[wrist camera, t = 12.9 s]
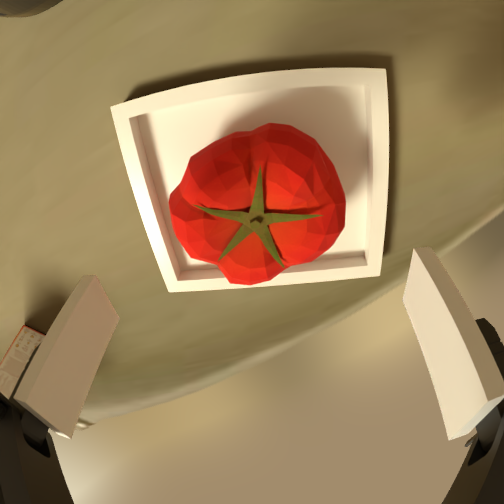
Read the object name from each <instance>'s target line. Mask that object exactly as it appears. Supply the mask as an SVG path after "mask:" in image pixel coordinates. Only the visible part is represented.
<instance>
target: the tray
mask: <svg viewBox="0 0 504 504" xmlns="http://www.w3.org/2000/svg"><path fill="white" fill-rule="evenodd" d="M111 111H112V116H113V120H114V124H115V128H116V132H117V136H118V140H119V143H120V147H121V151H122V154H123V158H124V162H125V165H126V169H127V172H128V175H129V179H130V182H131V186H132V189H133V192H134V195H135V198H136V202H137V205H138V208H139V211H140V214H141V217H142V220H143V223H144V226H145V229H146V232H147V235H148V238H149V240H150V243H151V246H152V249H153V252H154V254H155V257H156V260H157V262H158V265H159V268H160V270H161V273H162V276H163V278H164V281H165V283H166V286H167V289H168V291H169V292H183V291H201V290H218V289H233V288H248V287H262V286H275V285H287V284H299V283H311V282H322V281H332V280H343V279H353V278H362V277H372V276H380V270H381V262H382V254H383V245H384V235H385V225H386V212H387V197H388V174H389V114H388V92H387V78H386V69H380V68H313V69H296V70H283V71H273V72H264V73H255V74H248V75H241V76H234V77H228V78H222V79H216V80H211V81H206V82H201V83H196V84H191V85H187V86H182V87H178V88H174V89H170V90H166V91H162V92H158V93H154V94H151V95H147V96H144V97H140V98H137V99H134V100H130V101H127V102H124V103H121V104H118V105H115V106H112V107H111ZM267 123H279V124H287V125H291V126H293V127H295V128H297V129H298V130H300V131H302V132H304V133H306V134H307V135H309V136H311V137H313V138H314V139H315V140H316V141H317V142H318V144H319V145H320V146H321V148H322V149H323V150H324V152H325V153H326V155H327V156H328V157H329V159H330V160H331V161H332V163H333V164H334V166H335V169H336V171H337V174H338V177H339V179H340V182H341V185H342V187H343V190H344V193H345V198H346V215H345V227H344V229H343V231H342V232H341V234H340V235H339V237H338V238H337V240H336V241H335V243H334V244H333V246H332V247H331V248H330V249H329V250H327V251H326V252H324V253H323V254H322V255H320V256H319V257H317V258H316V259H315V260H313V261H312V262H308V263H303V264H298V265H293V266H290V267H289V268H287V269H285V270H284V271H282V272H281V273H280V274H278V275H277V276H276V277H274V278H273V279H272V280H270V281H266V282H262V283H258V284H254V285H240V284H230V283H229V281H228V280H227V279H226V277H225V276H224V274H223V273H222V272H221V270H220V269H219V267H218V266H217V265H215V264H212V263H208V262H204V261H200V260H196V259H193V258H190V256H189V255H188V253H187V252H186V250H185V249H184V247H183V246H182V245H181V243H180V242H179V240H178V239H177V237H176V235H175V233H174V230H173V228H172V222H171V216H170V209H169V203H168V202H169V197H170V194H171V192H172V191H173V190H174V189H175V188H176V187H177V186H178V185H179V183H180V182H181V180H182V178H183V176H184V173H185V171H186V168H187V165H188V162H189V159H190V157H191V156H193V155H194V154H196V153H197V152H199V151H200V150H202V149H203V148H205V147H206V146H208V145H209V144H211V143H212V142H214V141H216V140H219V139H221V138H223V137H225V136H227V135H229V134H231V133H234V132H237V131H252V130H254V129H256V128H257V127H260V126H262V125H265V124H267Z"/></svg>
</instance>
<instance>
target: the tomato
mask: <svg viewBox="0 0 504 504" xmlns="http://www.w3.org/2000/svg"><path fill="white" fill-rule="evenodd" d="M168 203H169V209H170V216H171V222H172V228H173V230H174V233H175V235H176V237H177V239H178V240H179V242H180V243H181V245H182V246H183V247H184V249H185V250H186V252H187V253H188V255H189V256H190V258H193V259H196V260H200V261H204V262H208V263H212V264H215V265H217V266H218V267H219V269H220V270H221V272H222V273H223V274H224V276H225V277H226V279H227V280H228V281H229V283H230V284H240V285H254V284H258V283H262V282H266V281H270V280H272V279H273V278H274V277H276V276H277V275H278V274H280V273H281V272H282V271H284V270H285V269H287V268H289V267H290V266H293V265H298V264H303V263H308V262H312V261H313V260H315V259H316V258H317V257H319V256H320V255H322V254H323V253H324V252H326V251H327V250H329V249H330V248H331V247H332V246H333V244H334V243H335V241H336V240H337V238H338V237H339V235H340V234H341V232H342V231H343V229H344V227H345V215H346V198H345V193H344V190H343V187H342V185H341V182H340V179H339V177H338V174H337V171H336V169H335V166H334V164H333V163H332V161H331V160H330V159H329V157H328V156H327V155H326V153H325V152H324V150H323V149H322V148H321V146H320V145H319V144H318V142H317V141H316V140H315V139H314V138H313V137H311V136H309V135H307V134H306V133H304V132H302V131H300V130H298V129H297V128H295V127H293V126H291V125H287V124H279V123H267V124H265V125H262V126H260V127H257V128H256V129H254V130H252V131H237V132H234V133H231V134H229V135H227V136H225V137H223V138H221V139H219V140H216V141H214V142H212V143H211V144H209V145H208V146H206V147H205V148H203V149H202V150H200V151H199V152H197V153H196V154H194V155H193V156H191V157H190V159H189V162H188V165H187V168H186V171H185V173H184V176H183V178H182V180H181V182H180V183H179V185H178V186H177V187H176V188H175V189H174V190H173V191H172V192H171V194H170V197H169V202H168Z"/></svg>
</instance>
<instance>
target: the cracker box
mask: <svg viewBox="0 0 504 504" xmlns="http://www.w3.org/2000/svg"><path fill="white" fill-rule="evenodd" d="M45 336H46V335H44V334H42V333H40V332H38V331H36V330H34V329H32V328H30V327H27V326H25V325H23V326H22V328H21V330H20V331H19V333H18V334H17V336H16V337H15V339H14V341H13V342H12V344H11V345H10V347H9V349H8V350H7V352H6V354H5V356H4V357H3V359H2V361H1V362H0V392H1V393H2V394H3V395H4V396H5V397H6V398H7V399H9V398H10V396H11V394H12V392H13V390H14V388H15V386H16V383H17V381H18V379H19V377H20V375H21V373H22V371H23V370H25V366H26V364H27V362H29V358H30V356H31V354H32V353H33V351H34V349H35V348H36V347H37V346H38V345H39V344H40V343H41V342H42V341H43V339H44V337H45Z"/></svg>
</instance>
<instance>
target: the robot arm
mask: <svg viewBox="0 0 504 504" xmlns="http://www.w3.org/2000/svg"><path fill="white" fill-rule="evenodd" d="M60 1H62V0H0V16H1V17H28V16H33V15H36V14H39V13H41V12H43V11H45V10H47V9H49V8H51V7H53V6H54V5H56V4H57V3H59V2H60ZM403 303H404V305H405V308H406V310H407V313H408V315H409V318H410V320H411V323H412V325H413V328H414V330H415V333H416V336H417V338H418V341H419V344H420V347H421V349H422V352H423V355H424V358H425V361H426V363H427V366H428V369H429V372H430V376H431V379H432V382H433V385H434V388H435V391H436V395H437V398H438V401H439V405H440V408H441V412H442V416H443V419H444V423H445V427H446V431H447V435H448V439H449V440H451V439H454V438H457V437H460V436H463V435H465V434H468V433H469V432H470V431H471V430H472V429H473V428H474V427H475V426H476V430H477V434H475V435H474V436H473V437H472V438H471V439H470V440H468V441H467V443H466V444H465V447H468V446H469V445H470V444H471V443H472V444H471V447H470V449H469V451H468V454H467V456H466V458H465V460H464V462H463V464H462V467H461V469H460V471H459V473H458V475H457V477H456V479H455V481H454V483H453V484H452V487H451V488H450V490H449V492H448V494H447V495H446V497H445V499H444V501H443V502H442V504H504V346H503V344H502V342H500V338H499V336H498V334H497V332H496V331H495V328H494V327H493V326H492V325H491V324H490V323H489V322H488V321H487V320H486V319H485V318H482V319H477V320H475V319H474V318H473V316H472V314H471V312H470V310H469V308H468V306H467V305H466V303H465V301H464V300H463V298H462V296H461V294H460V293H459V291H458V289H457V288H456V286H455V284H454V283H453V281H452V279H451V278H450V276H449V275H448V273H447V271H446V270H445V268H444V267H443V265H442V263H441V262H440V260H439V259H438V257H437V256H436V254H435V253H434V251H433V250H432V248H431V247H421V248H414V249H413V255H412V260H411V265H410V270H409V275H408V279H407V284H406V288H405V292H404V296H403ZM119 319H120V318H119V317H118V315H117V313H116V311H115V310H114V308H113V306H112V304H111V303H110V301H109V299H108V297H107V295H106V293H105V292H104V290H103V288H102V286H101V284H100V282H99V280H98V278H97V276H96V275H85V276H83V277H82V278H81V280H80V281H79V283H78V284H77V286H76V287H75V289H74V290H73V292H72V293H71V295H70V296H69V298H68V299H67V301H66V303H65V304H64V306H63V307H62V309H61V310H60V312H59V314H58V315H57V317H56V319H55V320H54V322H53V324H52V325H51V327H50V329H49V330H48V332H47V334H46V336H45V337H44V339H43V341H42V342H41V343H40V344H39V345H38V346H37V347H36V348H35V349H34V351H33V353H32V354H31V356H30V358H29V362H27V364H26V366H25V370H23V371H22V373H21V375H20V377H19V379H18V381H17V383H16V386H15V388H14V390H13V392H12V394H11V396H10V398H9V399H7V398H6V397H5V396H4V395H3V394H2V393H1V392H0V504H74V502H73V500H72V497H71V495H70V492H69V490H68V487H67V484H66V482H65V479H64V476H63V473H62V470H61V467H60V464H59V460H58V457H57V454H56V450H55V447H54V443H53V440H52V437H51V435H50V433H48V429H49V428H50V429H51V430H53V431H54V432H55V433H57V434H59V435H61V436H64V437H67V438H70V439H71V438H72V435H73V432H74V430H75V427H76V424H77V421H78V418H79V415H80V413H81V410H82V407H83V405H84V402H85V399H86V397H87V394H88V392H89V389H90V386H91V384H92V381H93V379H94V376H95V374H96V372H97V369H98V367H99V364H100V362H101V360H102V357H103V355H104V353H105V350H106V348H107V346H108V343H109V341H110V339H111V337H112V334H113V332H114V330H115V328H116V326H117V323H118V321H119Z"/></svg>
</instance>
